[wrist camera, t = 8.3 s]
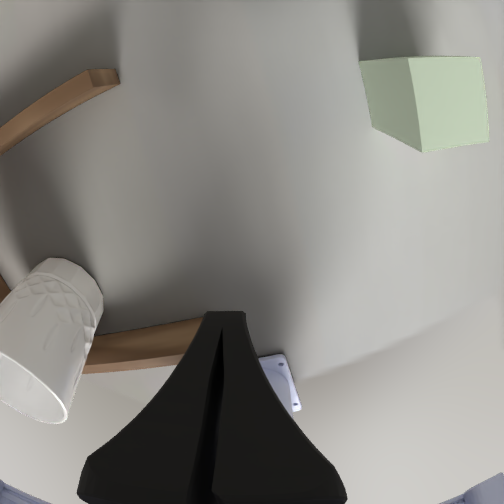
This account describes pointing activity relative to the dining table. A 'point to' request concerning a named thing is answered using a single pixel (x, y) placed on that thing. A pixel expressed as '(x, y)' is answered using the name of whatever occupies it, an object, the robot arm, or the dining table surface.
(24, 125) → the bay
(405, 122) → the block
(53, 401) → the white cup
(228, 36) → the dining table surface
